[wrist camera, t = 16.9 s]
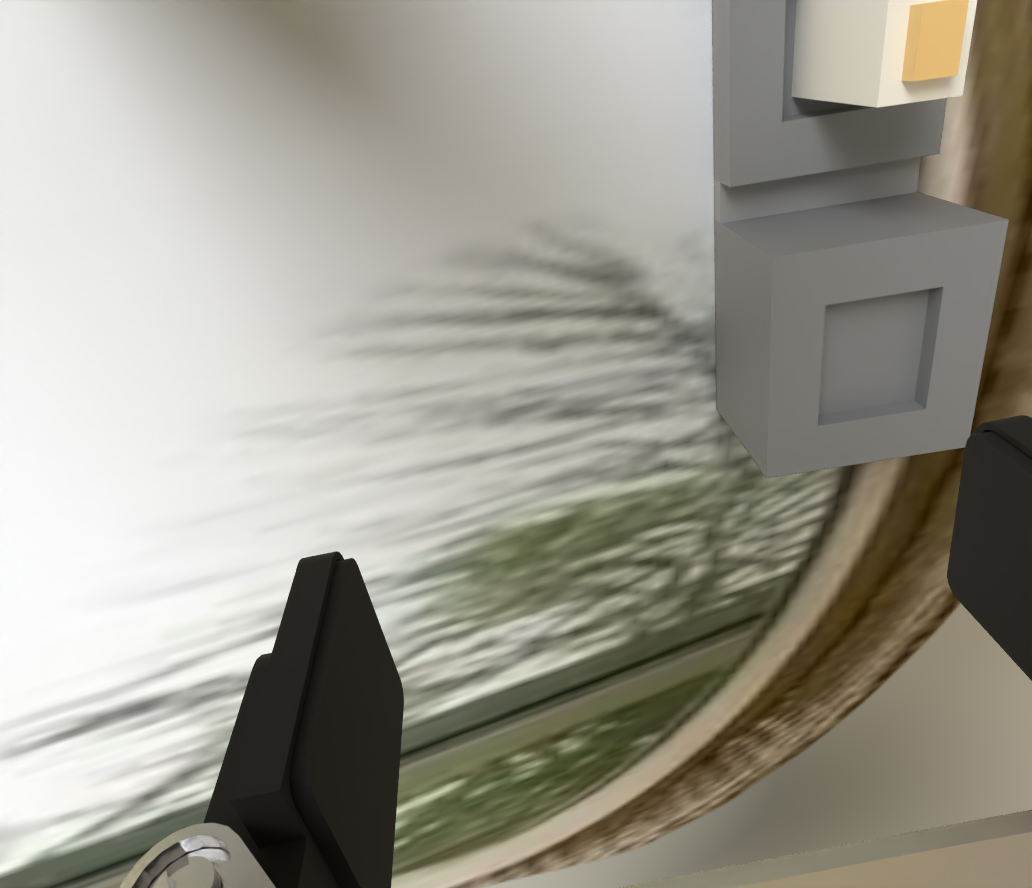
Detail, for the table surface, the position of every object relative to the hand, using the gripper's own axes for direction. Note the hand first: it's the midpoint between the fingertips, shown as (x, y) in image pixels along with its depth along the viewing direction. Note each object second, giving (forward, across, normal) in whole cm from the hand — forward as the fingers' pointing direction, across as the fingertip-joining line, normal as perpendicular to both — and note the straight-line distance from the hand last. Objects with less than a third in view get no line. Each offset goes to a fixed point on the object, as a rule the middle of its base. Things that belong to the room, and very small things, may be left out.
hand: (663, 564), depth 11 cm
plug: (+28, -15, -4) cm, 32 cm away
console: (+29, -15, +2) cm, 33 cm away
